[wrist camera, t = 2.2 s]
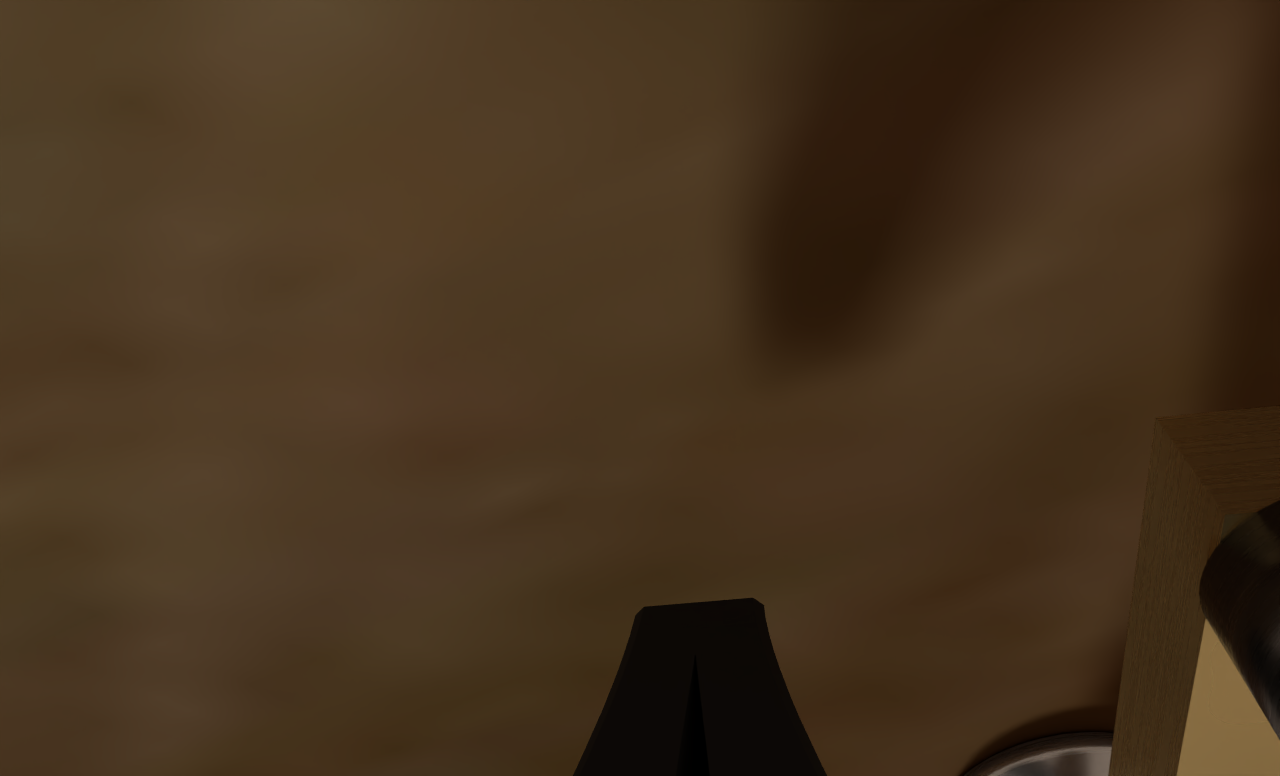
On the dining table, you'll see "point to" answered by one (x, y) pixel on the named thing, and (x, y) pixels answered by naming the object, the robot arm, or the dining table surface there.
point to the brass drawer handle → (1205, 603)
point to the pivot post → (1052, 757)
